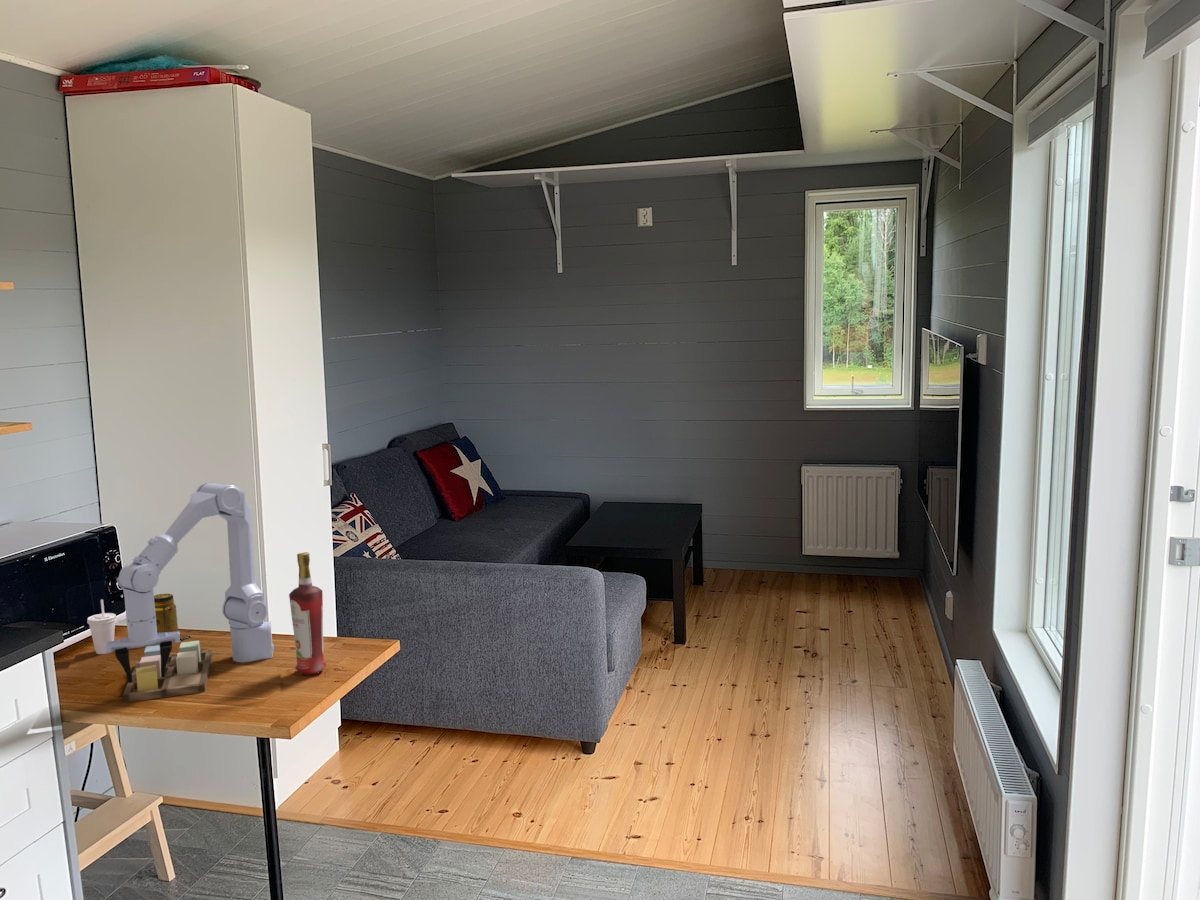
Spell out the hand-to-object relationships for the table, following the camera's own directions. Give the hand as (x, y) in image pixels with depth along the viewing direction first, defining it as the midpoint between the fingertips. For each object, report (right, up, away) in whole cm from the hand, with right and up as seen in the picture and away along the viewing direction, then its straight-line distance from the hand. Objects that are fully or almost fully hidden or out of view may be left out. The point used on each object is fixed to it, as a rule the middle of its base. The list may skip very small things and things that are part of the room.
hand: (146, 678), depth 208 cm
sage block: (+2, -1, +17) cm, 17 cm away
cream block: (+5, -2, +10) cm, 11 cm away
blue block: (-5, -1, +14) cm, 15 cm away
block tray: (+1, -3, +9) cm, 9 cm away
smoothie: (-24, -1, +28) cm, 36 cm away
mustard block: (0, -3, +1) cm, 3 cm away
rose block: (-2, -2, +7) cm, 8 cm away
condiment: (-12, +1, +38) cm, 40 cm away
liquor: (+32, -2, +13) cm, 35 cm away
